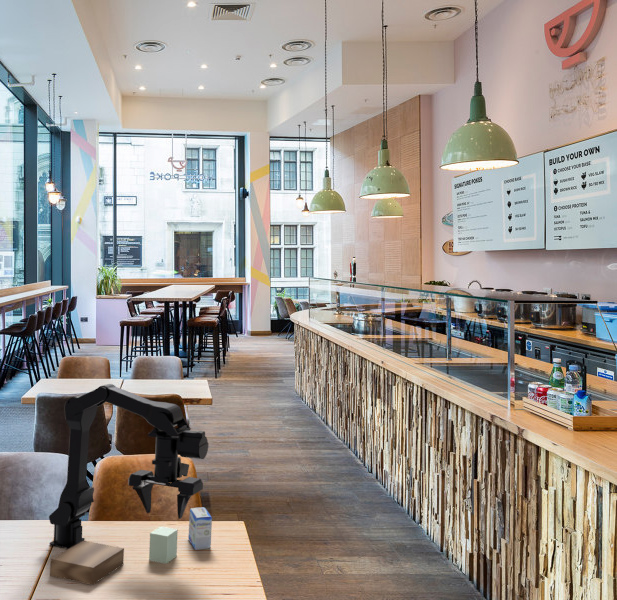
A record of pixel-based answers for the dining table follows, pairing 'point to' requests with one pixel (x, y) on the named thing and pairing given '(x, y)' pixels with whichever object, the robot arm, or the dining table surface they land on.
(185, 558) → the dining table surface
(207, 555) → the dining table surface
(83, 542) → the walnut base
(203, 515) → the medicine box
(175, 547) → the sage block
